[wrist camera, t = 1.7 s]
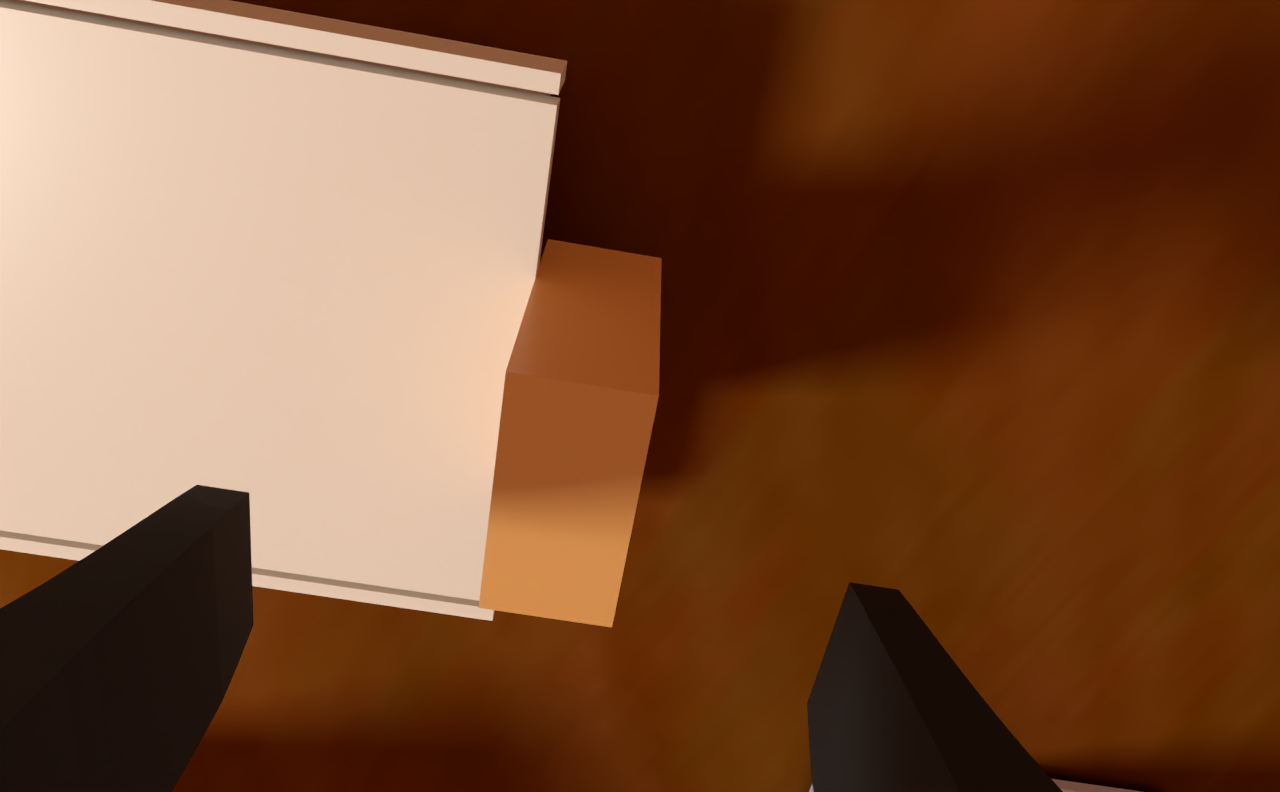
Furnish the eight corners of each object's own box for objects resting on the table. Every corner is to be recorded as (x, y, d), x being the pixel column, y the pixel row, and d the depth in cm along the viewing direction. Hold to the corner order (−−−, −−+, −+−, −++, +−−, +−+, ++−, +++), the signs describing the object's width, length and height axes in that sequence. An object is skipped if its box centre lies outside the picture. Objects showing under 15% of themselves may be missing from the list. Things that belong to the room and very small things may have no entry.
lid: (696, 73, 16) (707, 159, 11) (601, 576, 21) (582, 770, 16) (-271, -101, 15) (-667, -83, 10) (-129, 467, 20) (-358, 641, 15)
